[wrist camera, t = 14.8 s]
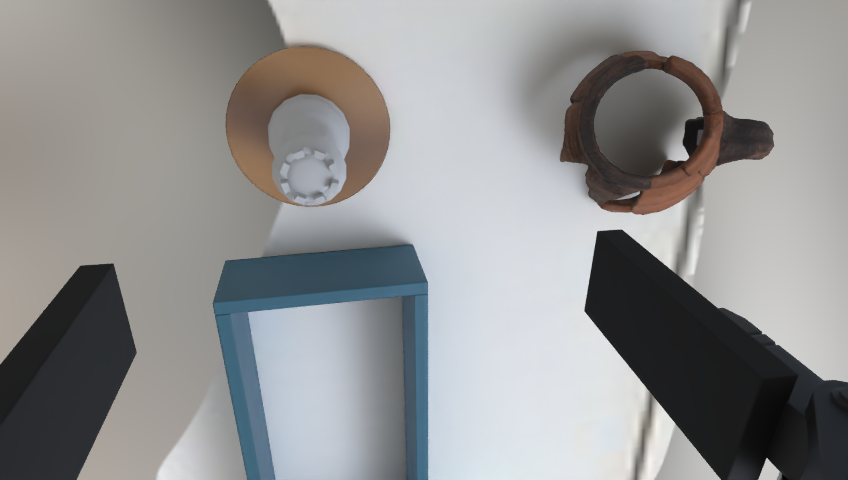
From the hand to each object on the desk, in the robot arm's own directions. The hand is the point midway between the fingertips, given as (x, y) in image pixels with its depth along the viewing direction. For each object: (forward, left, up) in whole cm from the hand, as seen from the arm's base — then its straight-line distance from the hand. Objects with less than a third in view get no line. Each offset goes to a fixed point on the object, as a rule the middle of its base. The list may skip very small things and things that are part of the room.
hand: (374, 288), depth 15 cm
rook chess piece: (0, -2, -18) cm, 18 cm away
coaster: (0, -2, -18) cm, 18 cm away
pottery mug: (+1, +18, -18) cm, 26 cm away
